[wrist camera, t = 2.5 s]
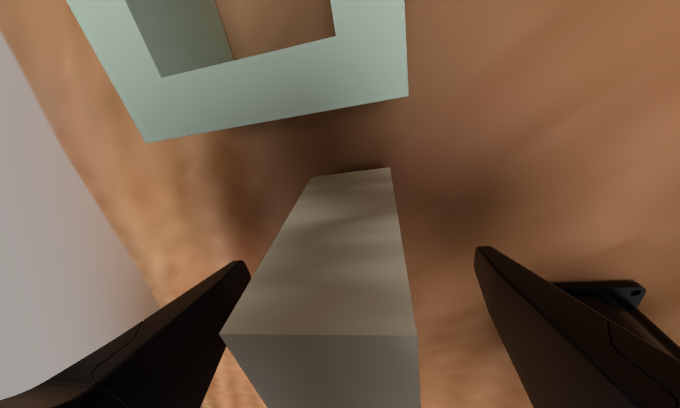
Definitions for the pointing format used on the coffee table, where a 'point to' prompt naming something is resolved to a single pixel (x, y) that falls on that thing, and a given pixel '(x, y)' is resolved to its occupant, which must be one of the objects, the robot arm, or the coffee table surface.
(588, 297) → the robot arm
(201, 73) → the green square frame
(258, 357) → the beige rectangular block
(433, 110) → the coffee table surface
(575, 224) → the coffee table surface
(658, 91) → the coffee table surface
